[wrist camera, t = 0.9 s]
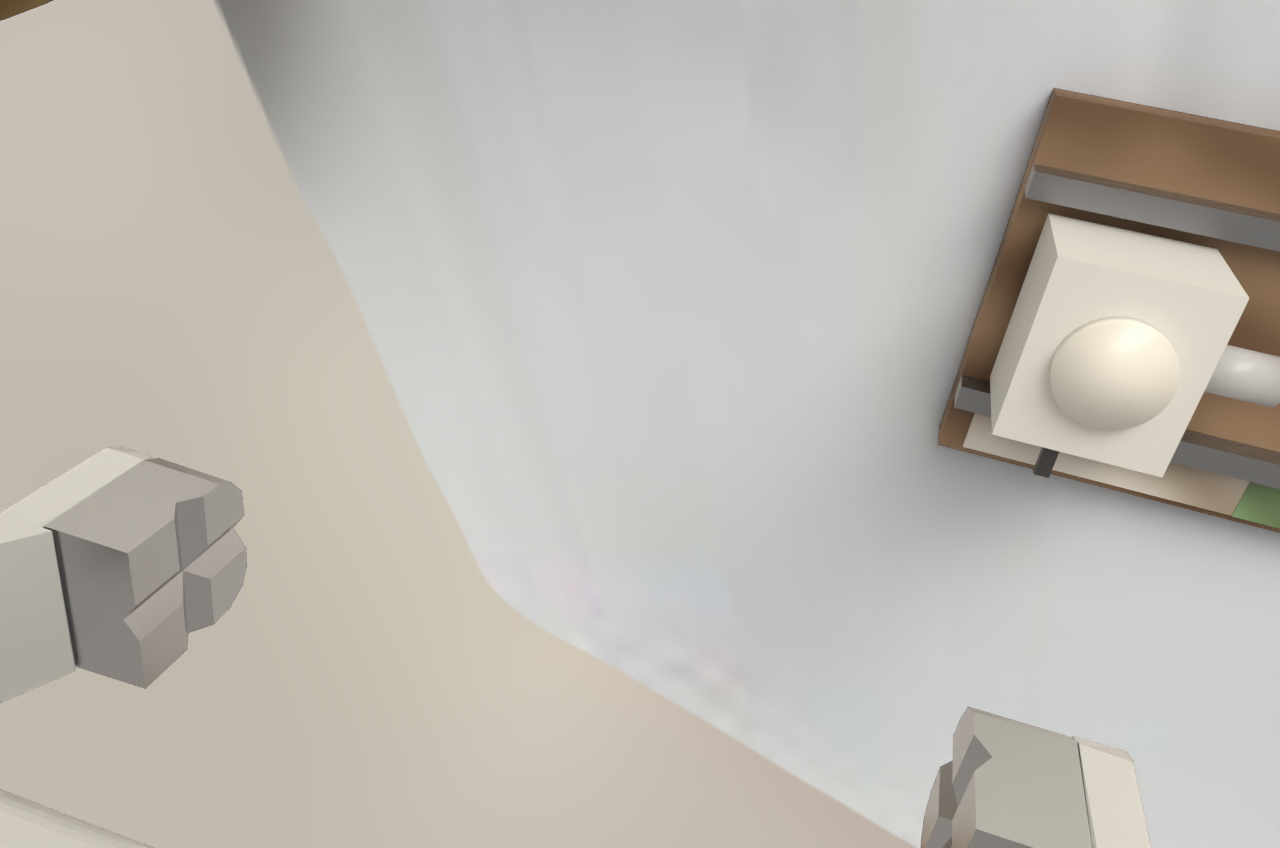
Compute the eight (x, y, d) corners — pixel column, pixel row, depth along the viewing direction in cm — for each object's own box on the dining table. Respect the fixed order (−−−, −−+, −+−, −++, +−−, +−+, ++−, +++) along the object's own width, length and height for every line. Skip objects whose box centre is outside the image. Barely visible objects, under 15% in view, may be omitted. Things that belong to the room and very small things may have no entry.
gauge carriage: (1048, 212, 37) (1059, 262, 33) (1305, 267, 36) (1356, 327, 31) (967, 440, 43) (966, 511, 38) (1189, 497, 41) (1217, 578, 36)
